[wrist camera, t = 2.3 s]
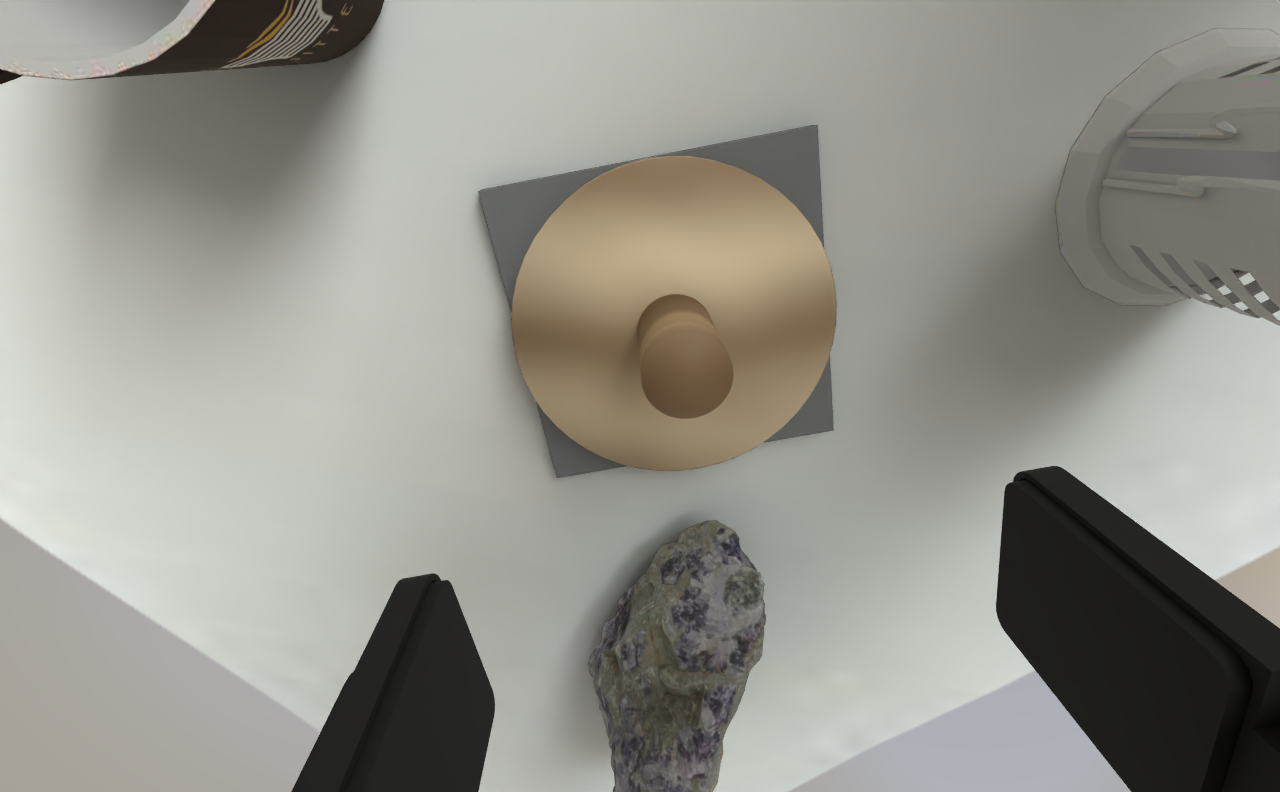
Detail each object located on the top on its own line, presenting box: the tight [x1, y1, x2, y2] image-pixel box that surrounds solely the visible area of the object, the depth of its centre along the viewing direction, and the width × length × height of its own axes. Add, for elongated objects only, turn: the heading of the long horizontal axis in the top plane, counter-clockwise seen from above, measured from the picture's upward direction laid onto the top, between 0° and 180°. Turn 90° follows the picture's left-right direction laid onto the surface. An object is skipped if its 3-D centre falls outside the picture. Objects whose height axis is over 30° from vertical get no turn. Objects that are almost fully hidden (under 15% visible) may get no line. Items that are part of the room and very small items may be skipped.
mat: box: [478, 125, 834, 478], centre depth 24 cm, size 12×12×1 cm
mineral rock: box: [588, 520, 766, 792], centre depth 26 cm, size 13×11×10 cm
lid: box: [511, 156, 837, 471], centre depth 21 cm, size 12×12×6 cm
